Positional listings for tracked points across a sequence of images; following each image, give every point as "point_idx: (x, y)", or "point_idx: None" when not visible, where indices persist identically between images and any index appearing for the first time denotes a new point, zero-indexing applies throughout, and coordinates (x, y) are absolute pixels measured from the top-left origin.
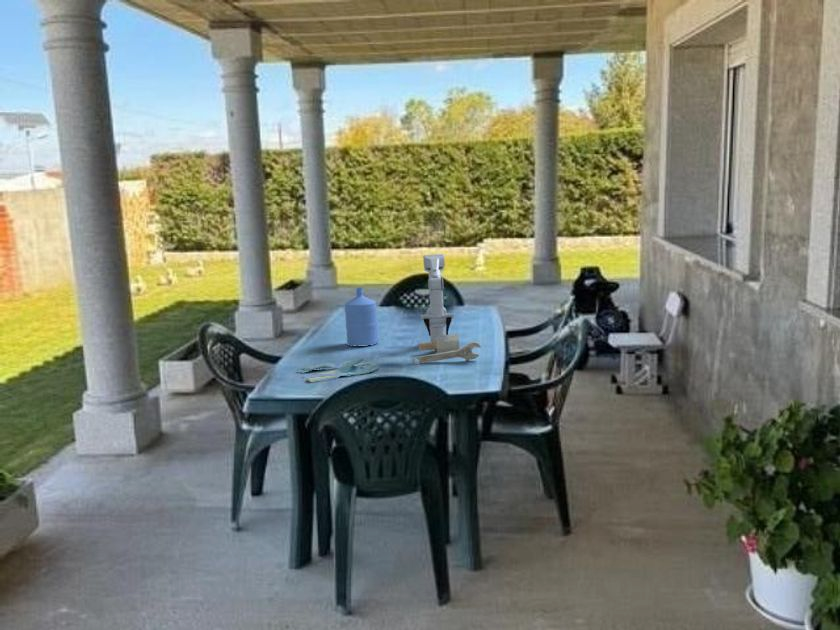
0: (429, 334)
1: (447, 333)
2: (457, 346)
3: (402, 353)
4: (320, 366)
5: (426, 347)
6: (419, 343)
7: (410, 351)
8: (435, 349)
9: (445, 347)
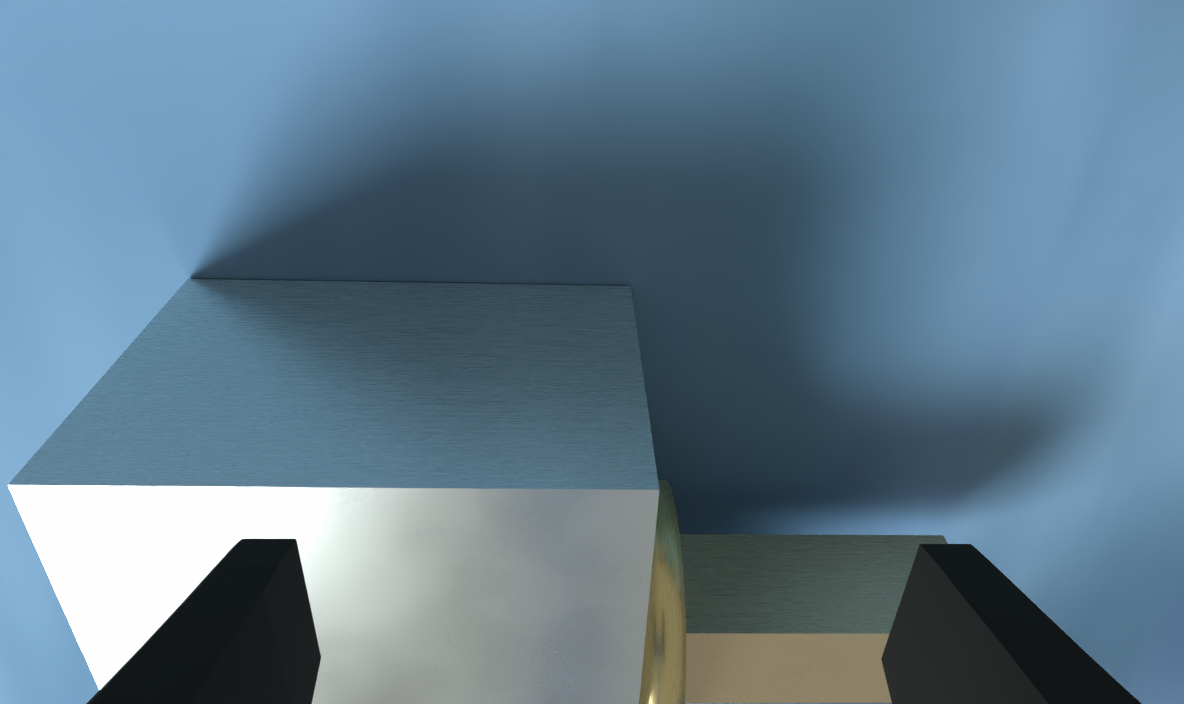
0: (989, 572)
1: (223, 568)
2: (142, 384)
3: (1128, 609)
4: None
5: (824, 571)
6: None
7: None
8: None
9: (439, 380)
